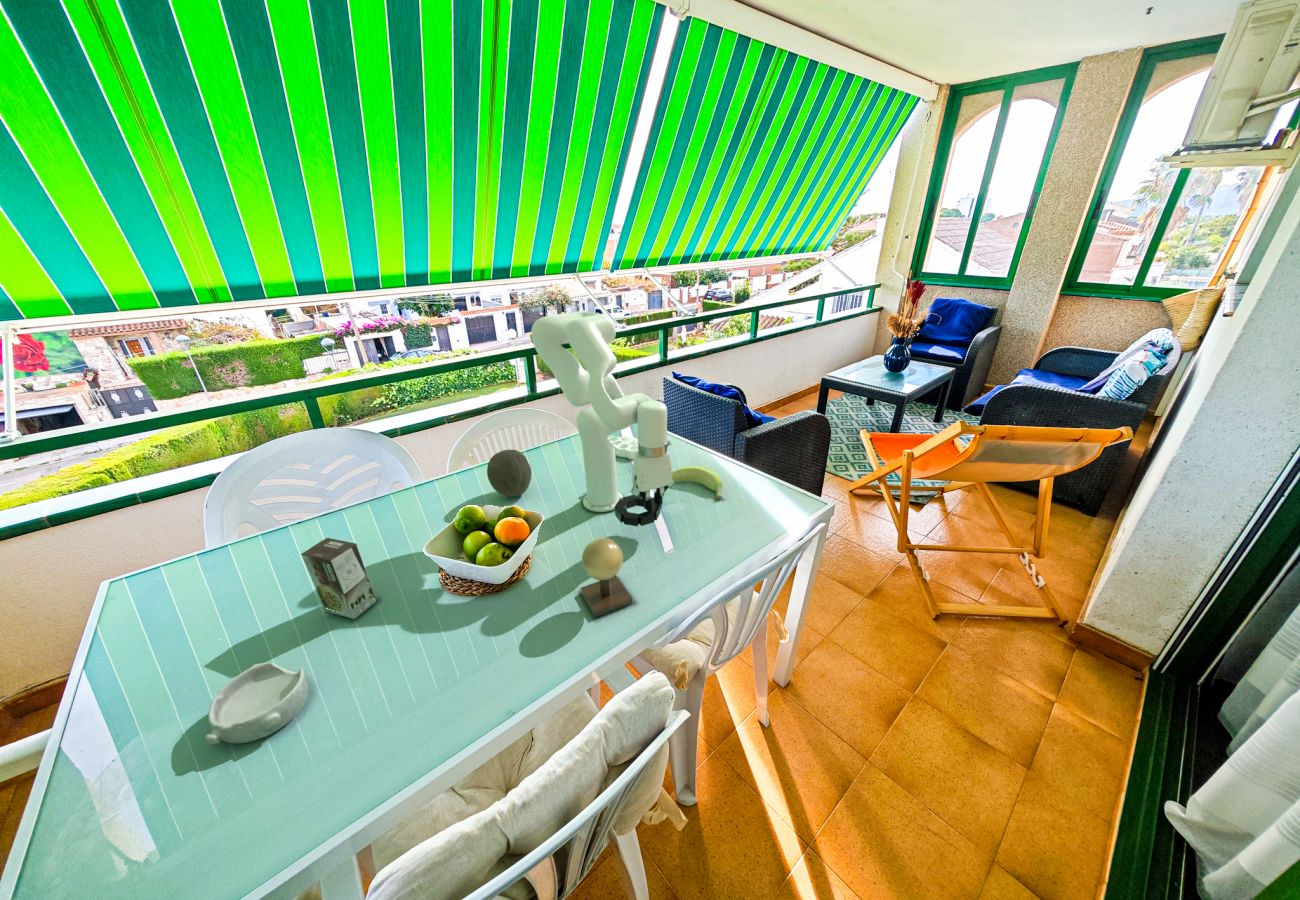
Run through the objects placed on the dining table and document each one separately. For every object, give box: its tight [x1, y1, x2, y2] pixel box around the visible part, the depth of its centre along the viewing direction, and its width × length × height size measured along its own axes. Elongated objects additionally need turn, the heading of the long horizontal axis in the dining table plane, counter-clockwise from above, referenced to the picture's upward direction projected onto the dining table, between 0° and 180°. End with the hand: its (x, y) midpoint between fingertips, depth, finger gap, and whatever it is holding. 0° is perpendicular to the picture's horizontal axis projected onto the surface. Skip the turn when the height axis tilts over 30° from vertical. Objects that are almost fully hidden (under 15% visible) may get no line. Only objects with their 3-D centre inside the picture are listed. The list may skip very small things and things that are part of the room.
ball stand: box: [579, 537, 633, 619], centre depth 102 cm, size 9×9×16 cm
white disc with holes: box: [607, 434, 638, 460], centre depth 179 cm, size 3×18×15 cm
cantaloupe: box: [486, 449, 533, 498], centre depth 147 cm, size 14×14×15 cm
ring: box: [614, 494, 662, 527], centre depth 124 cm, size 12×12×2 cm
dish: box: [205, 661, 310, 745], centre depth 80 cm, size 14×14×5 cm
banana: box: [672, 465, 723, 500], centre depth 149 cm, size 14×6×20 cm
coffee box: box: [300, 537, 377, 620], centre depth 102 cm, size 9×6×16 cm
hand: (652, 508), depth 126 cm, fingers closed on ring, 2 cm apart
